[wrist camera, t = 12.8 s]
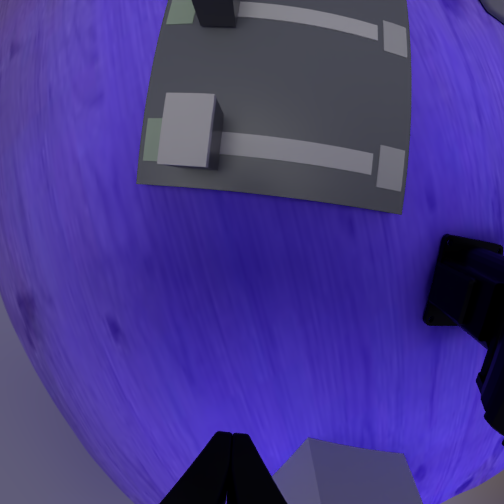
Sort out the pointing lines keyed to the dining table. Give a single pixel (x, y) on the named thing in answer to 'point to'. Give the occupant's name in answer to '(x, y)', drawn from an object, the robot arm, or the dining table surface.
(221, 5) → the block
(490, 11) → the flask
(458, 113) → the dining table surface
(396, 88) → the panel
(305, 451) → the milk
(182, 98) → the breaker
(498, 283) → the robot arm
